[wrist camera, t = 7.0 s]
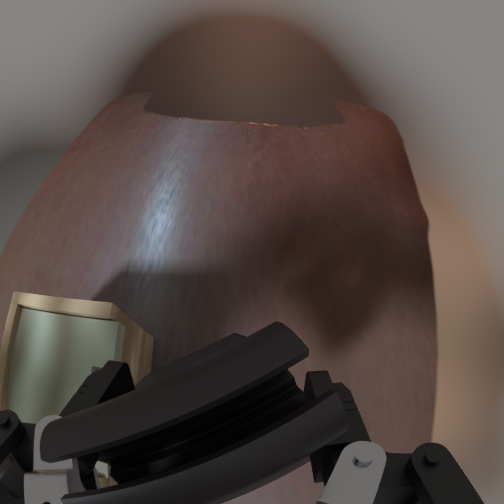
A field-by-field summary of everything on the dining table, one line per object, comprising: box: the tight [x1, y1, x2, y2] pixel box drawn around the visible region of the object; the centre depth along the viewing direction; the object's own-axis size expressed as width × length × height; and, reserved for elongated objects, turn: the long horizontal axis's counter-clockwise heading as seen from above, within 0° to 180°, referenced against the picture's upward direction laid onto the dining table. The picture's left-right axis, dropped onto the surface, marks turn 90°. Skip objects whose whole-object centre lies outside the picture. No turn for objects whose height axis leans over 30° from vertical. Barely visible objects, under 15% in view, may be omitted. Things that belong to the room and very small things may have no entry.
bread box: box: [0, 292, 154, 488], centre depth 21 cm, size 14×16×12 cm
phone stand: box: [40, 322, 348, 504], centre depth 9 cm, size 9×6×12 cm, turn 29°
